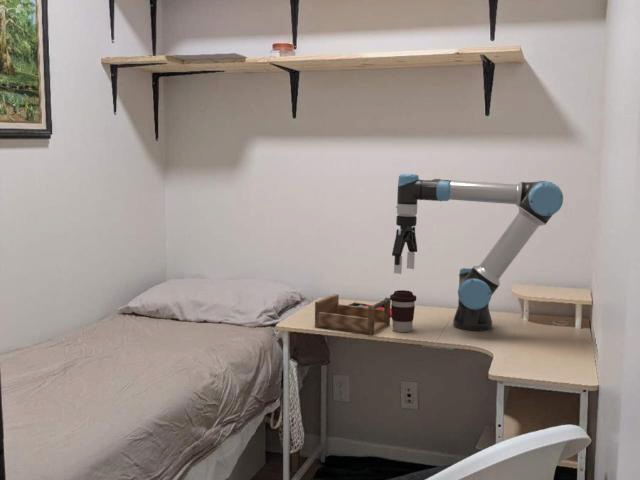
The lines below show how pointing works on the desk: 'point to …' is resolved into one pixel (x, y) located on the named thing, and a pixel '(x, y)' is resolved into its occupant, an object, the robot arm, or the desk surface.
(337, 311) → the wooden crate
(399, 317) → the coffee cup
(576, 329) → the desk surface
